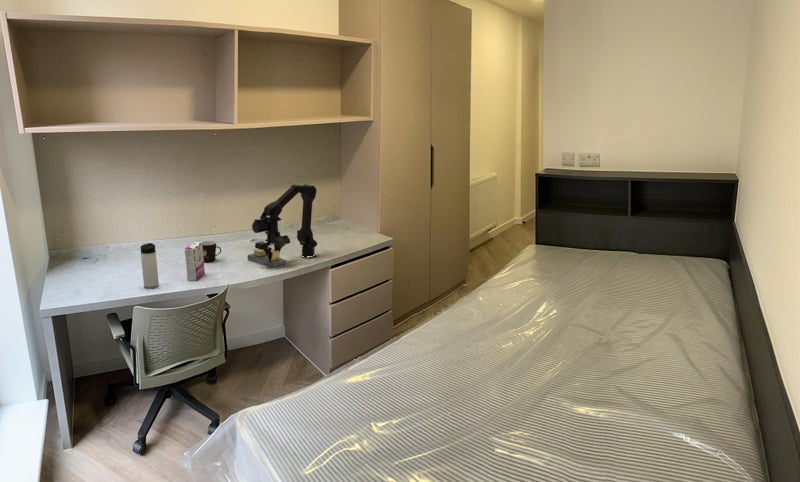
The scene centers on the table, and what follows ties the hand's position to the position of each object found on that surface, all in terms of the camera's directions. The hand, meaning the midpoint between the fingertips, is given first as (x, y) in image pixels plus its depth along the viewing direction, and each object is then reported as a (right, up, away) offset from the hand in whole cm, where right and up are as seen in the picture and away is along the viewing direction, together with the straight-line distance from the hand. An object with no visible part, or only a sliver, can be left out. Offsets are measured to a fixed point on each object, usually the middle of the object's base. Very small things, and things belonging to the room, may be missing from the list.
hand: (273, 258), depth 303 cm
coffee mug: (-34, -2, +4) cm, 34 cm away
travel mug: (-49, -12, -35) cm, 61 cm away
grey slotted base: (-4, -2, +4) cm, 6 cm away
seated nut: (-9, -1, +8) cm, 12 cm away
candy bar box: (-33, -9, -21) cm, 40 cm away
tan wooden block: (0, -1, 0) cm, 2 cm away
